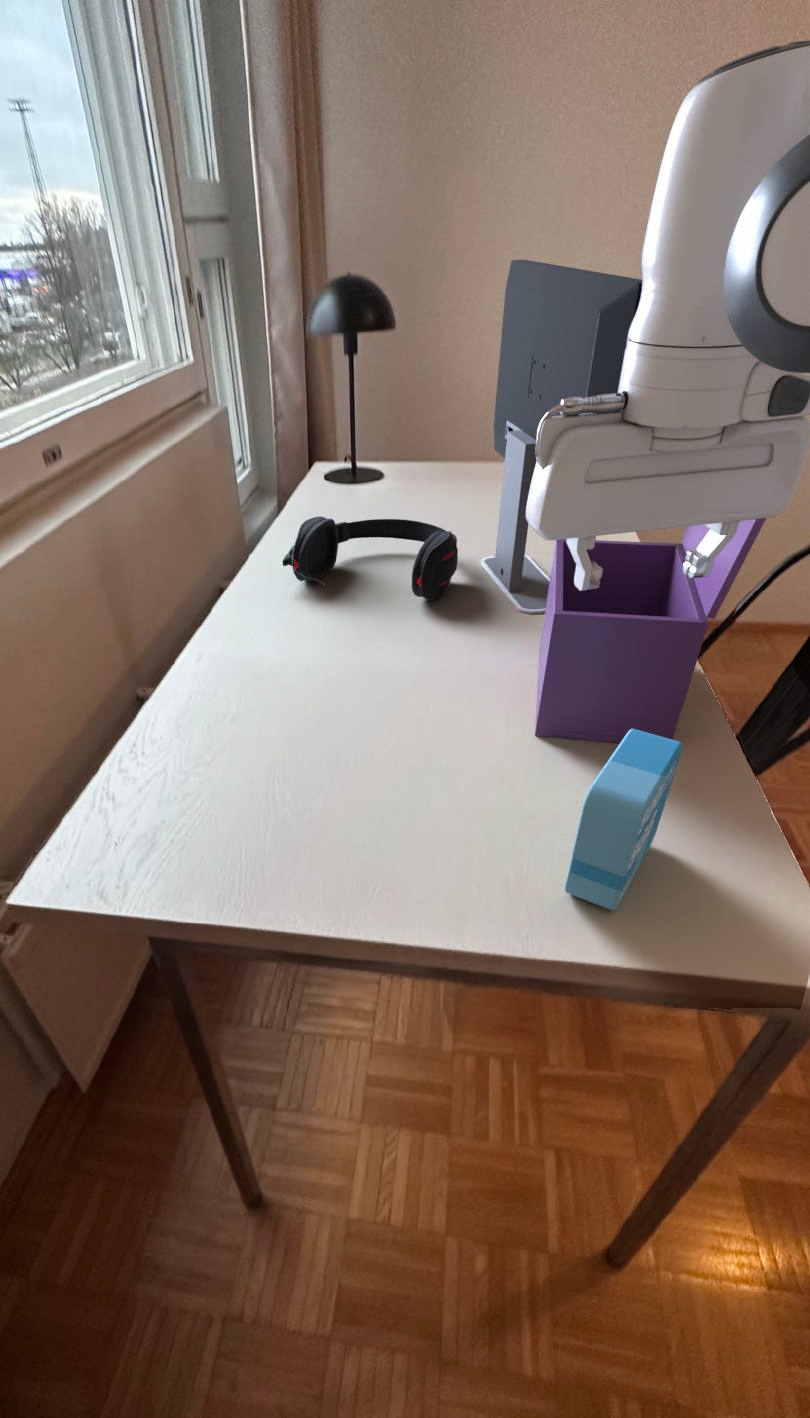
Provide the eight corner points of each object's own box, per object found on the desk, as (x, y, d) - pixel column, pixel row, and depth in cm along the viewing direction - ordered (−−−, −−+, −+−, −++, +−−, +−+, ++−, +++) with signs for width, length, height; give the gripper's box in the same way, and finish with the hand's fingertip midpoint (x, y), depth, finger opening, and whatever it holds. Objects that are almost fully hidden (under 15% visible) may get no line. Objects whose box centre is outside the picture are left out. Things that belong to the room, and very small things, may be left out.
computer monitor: (601, 636, 103) (675, 280, 77) (543, 642, 102) (598, 285, 76) (507, 536, 134) (537, 258, 107) (462, 540, 133) (481, 261, 107)
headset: (284, 620, 111) (279, 563, 105) (286, 555, 131) (282, 504, 125) (470, 610, 111) (474, 552, 105) (443, 546, 131) (446, 495, 125)
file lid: (793, 446, 61) (802, 448, 61) (746, 392, 77) (754, 393, 77) (706, 617, 72) (714, 619, 72) (680, 539, 88) (687, 540, 88)
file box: (534, 735, 85) (554, 613, 75) (539, 648, 101) (556, 538, 91) (670, 748, 82) (708, 622, 72) (653, 656, 98) (683, 543, 88)
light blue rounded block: (611, 919, 63) (643, 811, 55) (561, 898, 65) (585, 792, 57) (653, 840, 71) (687, 735, 63) (607, 824, 73) (634, 721, 65)
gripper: (559, 409, 48) (532, 611, 57) (848, 384, 50) (778, 583, 59) (525, 391, 53) (505, 580, 62) (790, 368, 54) (734, 555, 63)
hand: (640, 581), depth 60 cm, fingers open, 8 cm apart
